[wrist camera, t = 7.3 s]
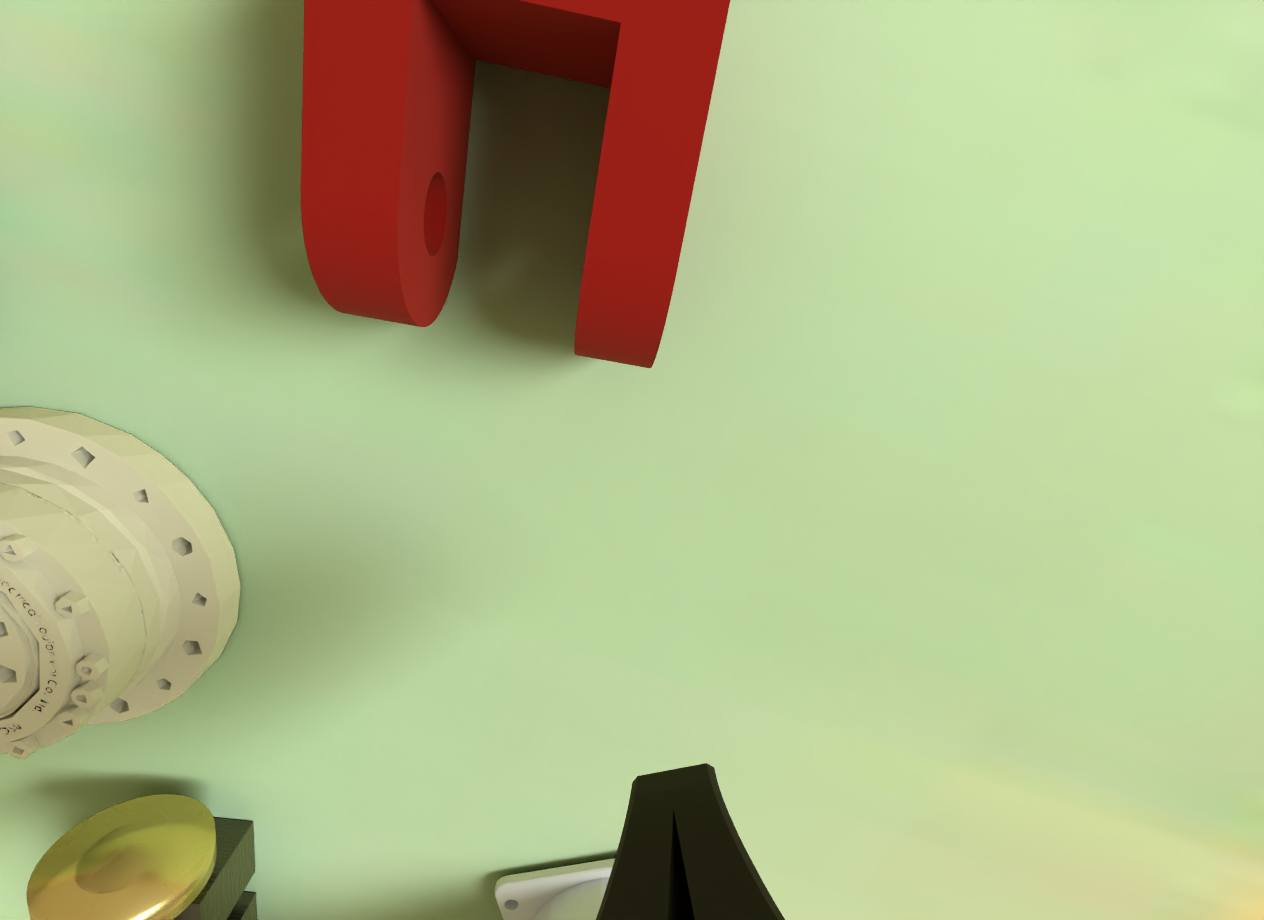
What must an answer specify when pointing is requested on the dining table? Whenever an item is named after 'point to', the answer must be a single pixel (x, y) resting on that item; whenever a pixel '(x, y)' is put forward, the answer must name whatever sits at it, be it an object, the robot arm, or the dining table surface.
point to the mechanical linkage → (438, 142)
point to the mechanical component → (101, 578)
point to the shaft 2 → (148, 865)
